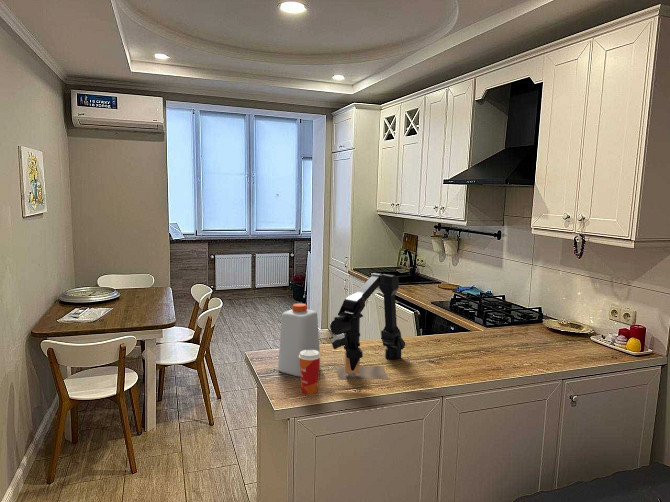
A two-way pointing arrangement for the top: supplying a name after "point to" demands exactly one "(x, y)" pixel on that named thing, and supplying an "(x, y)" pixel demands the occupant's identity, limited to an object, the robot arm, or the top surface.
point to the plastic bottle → (297, 337)
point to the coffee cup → (309, 371)
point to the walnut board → (364, 373)
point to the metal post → (351, 375)
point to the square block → (348, 367)
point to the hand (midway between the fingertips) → (351, 367)
